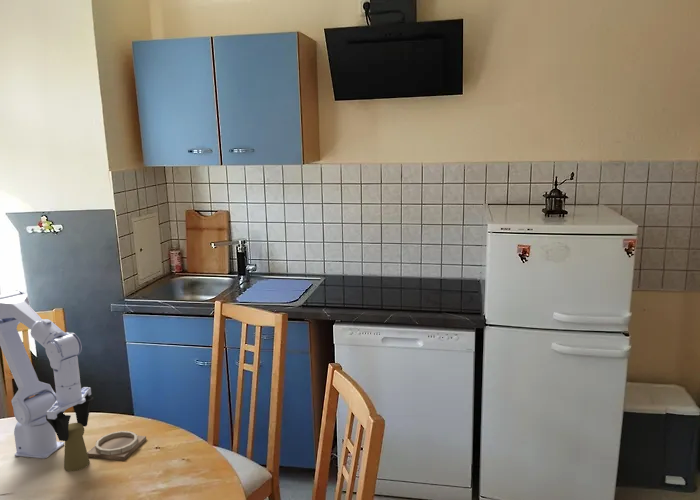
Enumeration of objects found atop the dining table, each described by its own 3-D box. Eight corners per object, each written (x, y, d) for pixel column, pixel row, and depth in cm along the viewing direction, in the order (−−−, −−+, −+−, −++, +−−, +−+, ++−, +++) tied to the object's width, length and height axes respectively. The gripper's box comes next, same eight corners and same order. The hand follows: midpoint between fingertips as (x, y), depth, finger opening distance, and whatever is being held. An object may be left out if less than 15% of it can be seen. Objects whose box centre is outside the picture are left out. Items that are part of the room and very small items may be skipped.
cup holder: (86, 456, 157) (85, 449, 157) (110, 436, 168) (110, 429, 167) (124, 460, 155) (123, 452, 154) (146, 439, 165) (145, 432, 165)
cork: (79, 472, 150) (75, 431, 148) (58, 470, 151) (53, 429, 149) (94, 459, 155) (90, 420, 153) (74, 457, 157) (69, 418, 155)
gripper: (62, 395, 141) (69, 448, 144) (99, 372, 155) (104, 420, 158) (36, 393, 143) (43, 446, 145) (75, 370, 157) (80, 418, 159)
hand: (73, 432), depth 151 cm, fingers open, 7 cm apart
